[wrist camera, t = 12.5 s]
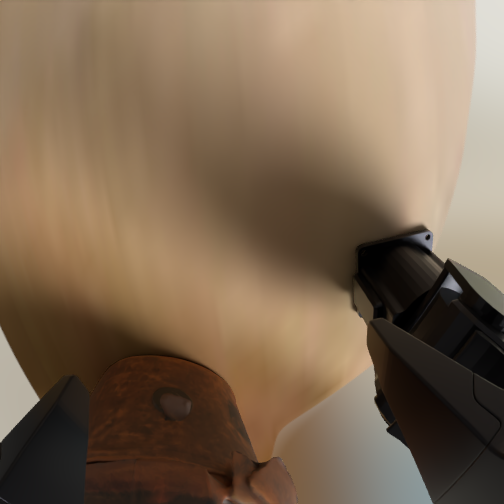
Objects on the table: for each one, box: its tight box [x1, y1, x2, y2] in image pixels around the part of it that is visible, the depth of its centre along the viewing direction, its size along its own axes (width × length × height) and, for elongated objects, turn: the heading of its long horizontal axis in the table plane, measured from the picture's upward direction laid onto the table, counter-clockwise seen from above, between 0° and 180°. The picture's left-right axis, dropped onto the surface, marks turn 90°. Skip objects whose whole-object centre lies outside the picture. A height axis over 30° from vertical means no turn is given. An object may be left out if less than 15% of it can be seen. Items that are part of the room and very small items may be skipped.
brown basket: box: [84, 355, 298, 504], centre depth 20 cm, size 18×20×18 cm
